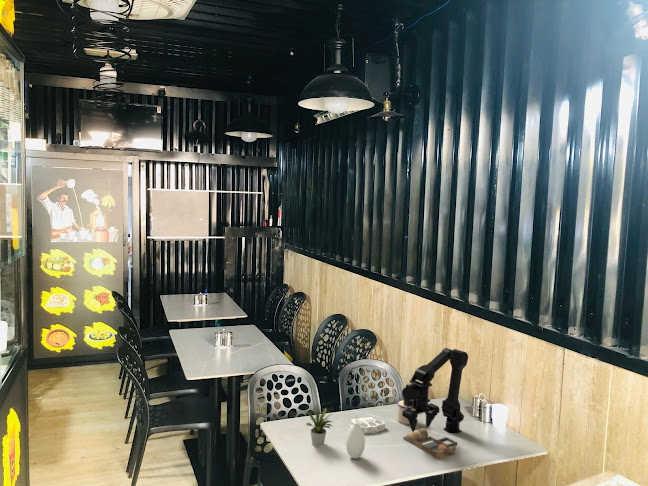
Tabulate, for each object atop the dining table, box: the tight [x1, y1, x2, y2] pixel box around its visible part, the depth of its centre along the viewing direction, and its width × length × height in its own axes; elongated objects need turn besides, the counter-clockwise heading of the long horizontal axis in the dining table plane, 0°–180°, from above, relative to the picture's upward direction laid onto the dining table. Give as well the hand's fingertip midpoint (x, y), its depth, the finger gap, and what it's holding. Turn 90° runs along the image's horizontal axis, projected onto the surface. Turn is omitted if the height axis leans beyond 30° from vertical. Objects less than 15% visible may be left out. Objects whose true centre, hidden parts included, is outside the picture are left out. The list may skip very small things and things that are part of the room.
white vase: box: [345, 416, 366, 460], centre depth 218 cm, size 8×8×18 cm
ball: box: [437, 444, 447, 451], centre depth 226 cm, size 4×4×4 cm
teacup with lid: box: [397, 399, 415, 425], centre depth 260 cm, size 12×9×12 cm
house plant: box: [302, 407, 333, 448], centre depth 228 cm, size 14×14×16 cm
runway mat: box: [402, 435, 440, 450], centre depth 235 cm, size 10×14×1 cm
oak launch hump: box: [406, 427, 429, 442], centre depth 238 cm, size 9×5×5 cm, turn 125°
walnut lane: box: [414, 435, 457, 460], centre depth 229 cm, size 11×15×3 cm
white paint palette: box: [348, 416, 386, 435], centre depth 249 cm, size 3×18×15 cm
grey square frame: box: [437, 436, 458, 447], centre depth 236 cm, size 7×7×1 cm
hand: (420, 429), depth 236 cm, fingers open, 9 cm apart
